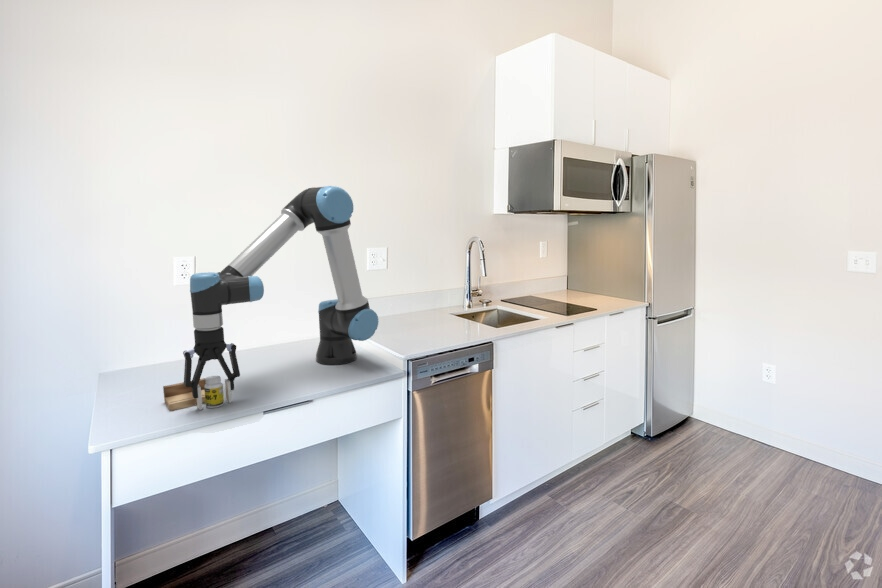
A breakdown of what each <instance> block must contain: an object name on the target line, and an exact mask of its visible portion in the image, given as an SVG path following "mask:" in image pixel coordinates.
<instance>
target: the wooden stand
mask: <svg viewBox="0 0 882 588" xmlns="http://www.w3.org/2000/svg"><path fill="white" fill-rule="evenodd" d="M205 378H206V377H203V378H200V380H199V383H198V385H199V386H200V387H201V396H202V405H204V404H206V402H205V389H204V386H205V384H206V383H205ZM191 382H192V380H191ZM162 389H163V398H164V404H165V405H166V407H167V409H168V411H169V412H172V411H173V412H174V411H177V410H181V409H186V408H190V407H194V406H197V398H195V399H194V397H193V396H192V387H186V386H185V385H184V381H183V382H178V383H174V384H168V385H163V386H162Z"/></svg>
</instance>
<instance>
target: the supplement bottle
mask: <svg viewBox="0 0 882 588" xmlns="http://www.w3.org/2000/svg"><path fill="white" fill-rule="evenodd" d="M204 378H205V383H206V384H205V386H204V389H205V402H206V403H205V407H206V408H208V409H215V408H219V407H222V406H223V405H224V404H225V403H224V402H225V401H224V400H225V398H224V386H223V385H224V384H223V383H222V379H221V375H210V376H206V377H204Z"/></svg>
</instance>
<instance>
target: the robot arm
mask: <svg viewBox="0 0 882 588" xmlns="http://www.w3.org/2000/svg"><path fill="white" fill-rule="evenodd" d="M280 211H281V212H280V215H279V217H277V218H276V219H275V220H274V221H273V222H272V223H271V224H269V226H268V227H266V228H265V229H264V230H263V232H261V233H260V234H259V235H258V236H257V237H256V238H255V239H254V240H253V241H252V242H250V244H248V246H246V248H244V250H243V251H241V252H240V253H239V254H238V255H237V256H236V257H235V258H233V260H232V261H231V262H230V263H228V265H227V266H225V267H224V268H223V269H222V270H220V271H219V272H209V271H208V272H197V273H193V274H191V276H190V278H189V292H190V300H191V301H190V302H191V311H192V322H193V328H194V330H193V336H194V337H193V339H194V346H193V348H192V349H189V350H184V351H182V354H183V357H184V374H183V375H184V376H183V382H184V385H185V386H186V387H192V396H193V397H194V399H195V398H197V405H196V407H197V409H198V410H199V411H201V410H203V404H202V396H201V387H200V386H199V385H198V383H199V380H200V379H201V376H202V374H203V372H204V368H205V365H206V363H207V362H210V361H211V360H215V361H216V360H218V362H219V364H220V367H222V370H223V372H224V374H225V376H226V377H227V378H226V379H224V385H225V386H224V387H225V389H224V390H225V399H226V401H227V403H228V404H230V403H231V404H232V403H233V402H232V391H234V390H235V379H237V378H238V377H240V376H241V372H240V367H239V364H238V363H239V362H238V358H237V353H236V351H237V345H236V344H235V343H232V342H231V343H226V341H225V333H224V327H223V325H224V320H223V306H225V305H232V304H234V305H235V304H240V303H243V304H244V303H252V302H256V301H260V300H262V298H263V296H264V293H265V289H264V288H265V287H264V286H265V285H264V283H263V281H262V279H261V278H260V277H259V276H255V274H256V273H257V272H258V271H259V270H260V269H261V268H262V267H263V266H264V265H265V264H266V263H267V262H268V261H269V260H270V259H271V258H272V257H273V256H274V255H275V254H276V253H277V252H279V250H280V249H281V248H282V247H284V245H285V244H287V242H288V241H289V240H290V239H291V238H292V237H294V235H296V233H298V231H299V232H303V231H304V230H305V229H306V228H307V227H308V226H310V225H311V224H314V227H315V230H316V233H318V234H320V235H321V236H322V240H323V245H324V248H325V252H326V255H327V261H328V265H329V268H330V272H331V277H332V281H333V284H334V288H335V293H336V296H337V298H336V299H328V300H323V301H321V302H319V304H318V311H317V313H318V322H319V323H318V326H319V327H318V328H319V343H318V346H317V349H316V354H315V361H316V363H318V364H321V365H327V366H328V365H331V366H332V365H333V366H335V365H336V366H337V365H345V364H349V363H351V362H354V361H355V360H356V359H357V350H356V348H355V344H354V342H353V341H359V342H364V341H367V340H369V339H370V338H372V337H373V336H375V335H374V334H375V332H376V330H377V329H378V327H379V316H378V314H377V312H376V311H374V310H373V309H372V308H370V305H369V299H368V298H367V297H366V296H364V295H363V292H362V288H361V287H362V286H361V283H360V279H359V275H358V270H357V266H356V261H355V256H354V252H353V248H352V244H351V240H350V234H349V231H348V230H349V228H350V226H351V217H352V214H353V213H354V202H353V199H352V196H351V195H350V193H348V192H347V191H346V190H345V189H343V188H342V187H339V186H333V185H326V186H325V185H324V186H317V187H309V188H306V189H304V190H303V191H301V192H299V193H298V194H297V195H296V196H295V197H294V198H292V199H291V200H290V201H289V202H288V203H287V204H286V205H284V207H282V209H281V210H280ZM225 350H226V351H228V354H229V359H230V364H231V368H232V371H231V370H230V368H229V365H228V364H227V362H226V360H225V358H224V356H223V353H224V352H225ZM194 355H197V356H198V360H197V364H196V368H195V369H194V370H195V371H194V373H193V377H192V364H193V360H192V359H193V358H194ZM191 378H192V379H191ZM191 381H192V382H191Z"/></svg>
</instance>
